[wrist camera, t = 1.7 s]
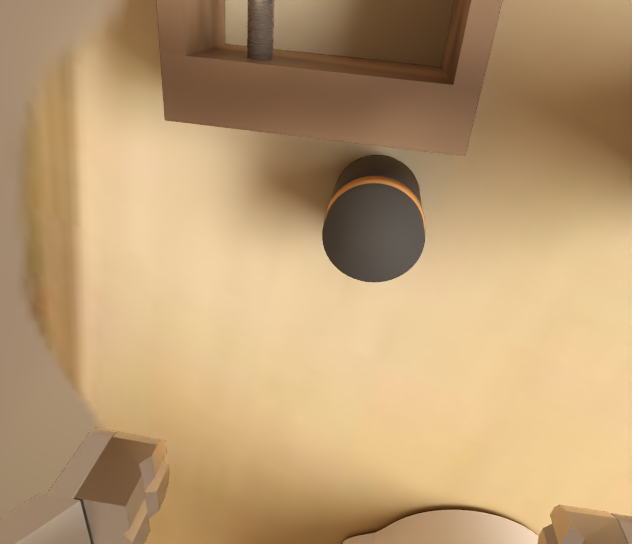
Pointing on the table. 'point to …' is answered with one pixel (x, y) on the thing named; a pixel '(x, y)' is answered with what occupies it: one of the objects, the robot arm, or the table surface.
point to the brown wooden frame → (324, 83)
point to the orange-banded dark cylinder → (375, 220)
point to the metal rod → (260, 29)
